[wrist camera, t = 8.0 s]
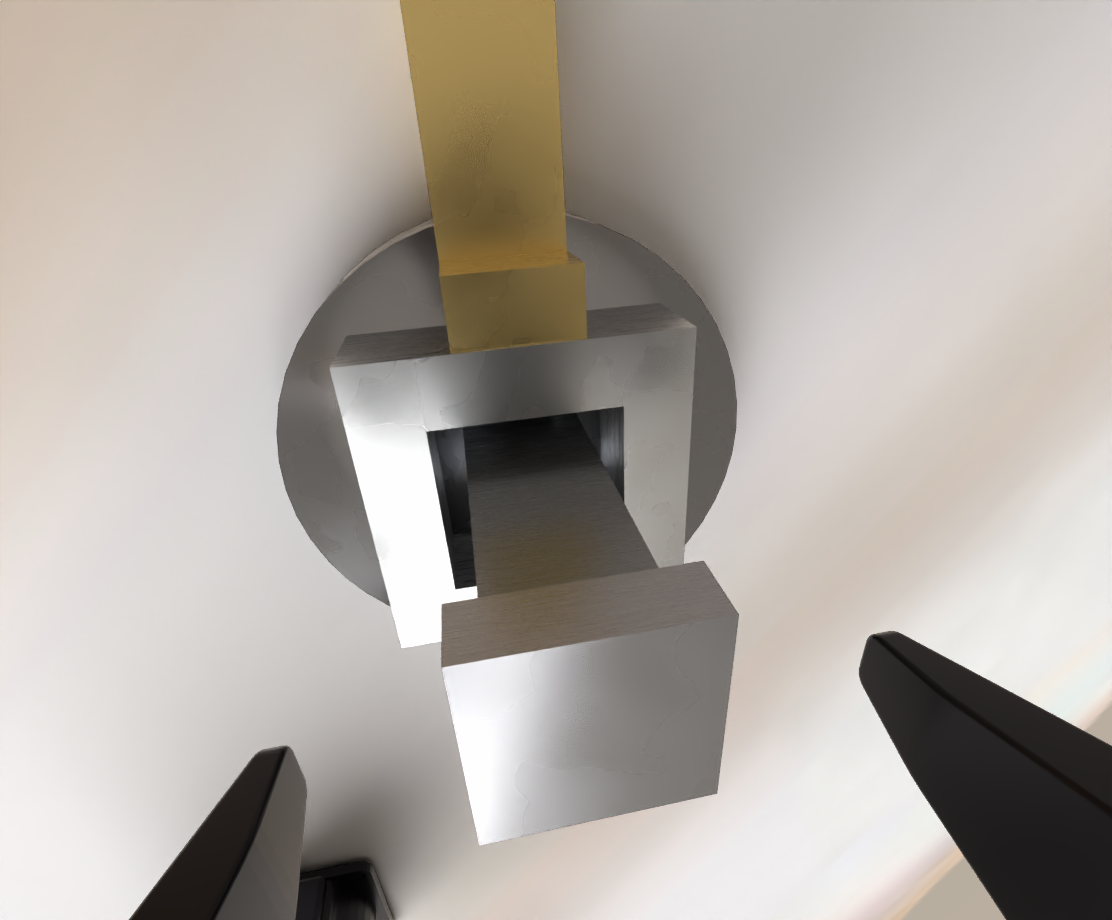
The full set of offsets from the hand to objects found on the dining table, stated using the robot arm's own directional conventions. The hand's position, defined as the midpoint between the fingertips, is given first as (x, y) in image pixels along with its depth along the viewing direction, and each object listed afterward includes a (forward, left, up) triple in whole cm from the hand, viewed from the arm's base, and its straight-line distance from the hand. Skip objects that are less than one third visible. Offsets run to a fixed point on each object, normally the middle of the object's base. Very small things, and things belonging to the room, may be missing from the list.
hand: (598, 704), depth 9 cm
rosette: (+2, 0, -11) cm, 11 cm away
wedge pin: (0, 0, -9) cm, 9 cm away
